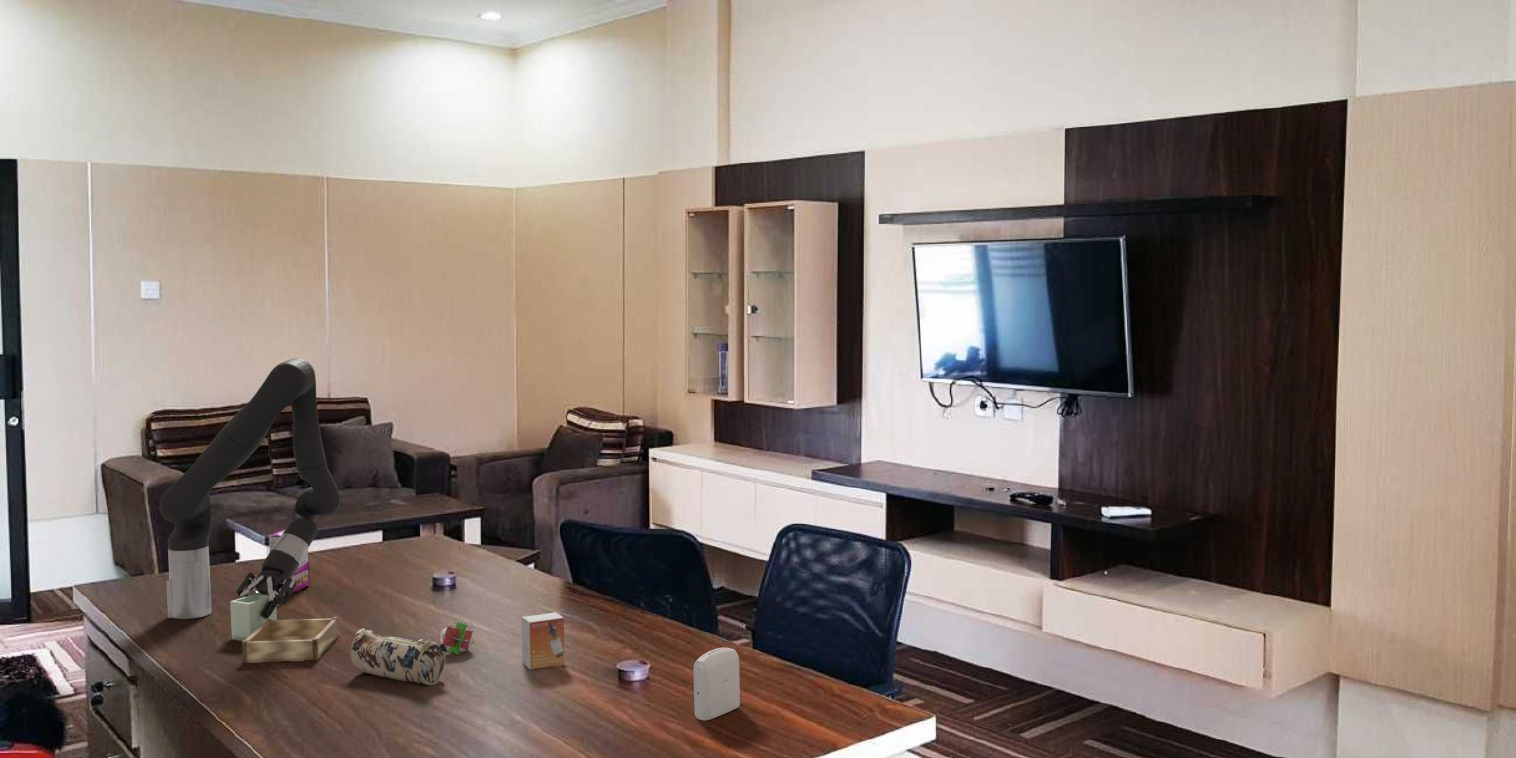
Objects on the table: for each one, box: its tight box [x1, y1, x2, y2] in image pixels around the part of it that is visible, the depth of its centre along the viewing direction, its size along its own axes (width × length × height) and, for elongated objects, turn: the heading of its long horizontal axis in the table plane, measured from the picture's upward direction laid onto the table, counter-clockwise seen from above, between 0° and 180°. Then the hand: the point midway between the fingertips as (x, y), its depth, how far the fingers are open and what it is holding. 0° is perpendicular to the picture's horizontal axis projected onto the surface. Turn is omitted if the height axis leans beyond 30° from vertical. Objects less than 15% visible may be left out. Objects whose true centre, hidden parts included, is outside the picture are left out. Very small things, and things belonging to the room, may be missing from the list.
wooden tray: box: [241, 616, 339, 664], centre depth 281 cm, size 16×18×5 cm
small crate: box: [229, 593, 278, 642], centre depth 292 cm, size 6×8×9 cm
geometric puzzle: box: [439, 621, 474, 656], centre depth 278 cm, size 7×7×8 cm
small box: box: [521, 611, 566, 670], centre depth 269 cm, size 8×6×10 cm
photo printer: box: [693, 647, 741, 722], centre depth 238 cm, size 10×4×12 cm, turn 140°
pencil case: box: [350, 628, 449, 686], centre depth 261 cm, size 22×8×10 cm, turn 61°
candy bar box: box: [268, 529, 311, 597], centre depth 334 cm, size 11×5×16 cm, turn 168°
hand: (250, 615), depth 291 cm, fingers open, 8 cm apart
